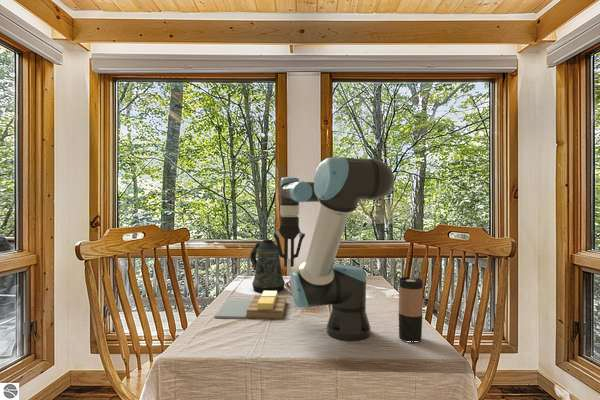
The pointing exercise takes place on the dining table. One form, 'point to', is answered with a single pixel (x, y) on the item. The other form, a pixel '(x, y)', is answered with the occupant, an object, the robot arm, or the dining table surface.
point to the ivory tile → (269, 294)
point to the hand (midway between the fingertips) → (288, 274)
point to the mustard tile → (266, 303)
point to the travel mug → (410, 308)
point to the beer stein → (267, 267)
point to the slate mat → (234, 309)
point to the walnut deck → (275, 313)
